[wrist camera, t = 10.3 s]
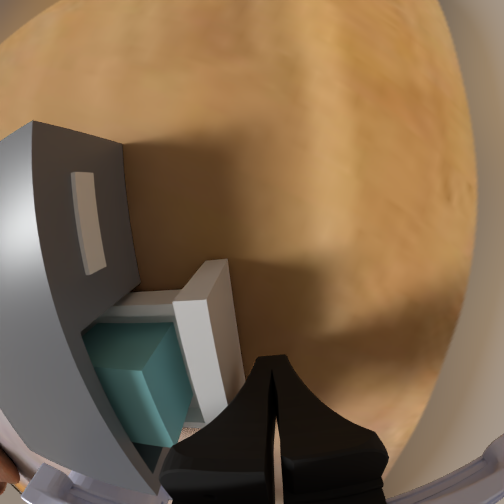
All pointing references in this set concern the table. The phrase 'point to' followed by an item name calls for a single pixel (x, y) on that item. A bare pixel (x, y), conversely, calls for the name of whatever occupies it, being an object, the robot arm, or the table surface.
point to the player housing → (65, 299)
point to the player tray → (195, 335)
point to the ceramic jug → (7, 472)
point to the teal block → (142, 378)
